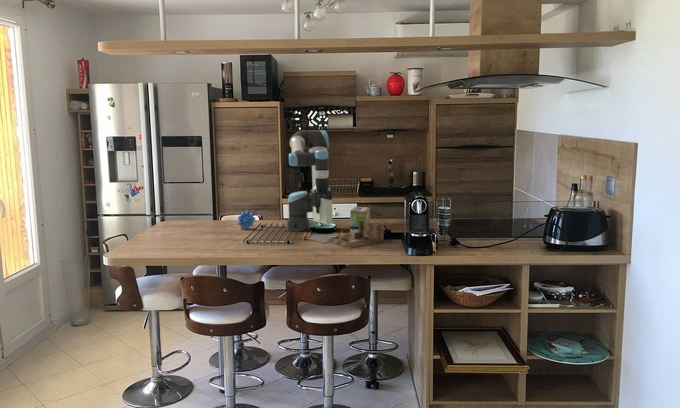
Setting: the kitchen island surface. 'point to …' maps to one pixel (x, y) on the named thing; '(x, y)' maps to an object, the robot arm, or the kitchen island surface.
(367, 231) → the rack
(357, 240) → the block
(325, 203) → the tall block
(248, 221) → the blue knobby thick disc
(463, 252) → the kitchen island surface
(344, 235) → the offcut short
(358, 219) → the tea box
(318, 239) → the mat
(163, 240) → the kitchen island surface
